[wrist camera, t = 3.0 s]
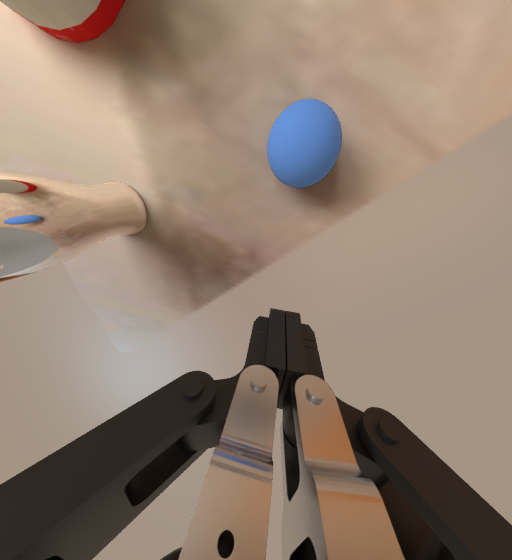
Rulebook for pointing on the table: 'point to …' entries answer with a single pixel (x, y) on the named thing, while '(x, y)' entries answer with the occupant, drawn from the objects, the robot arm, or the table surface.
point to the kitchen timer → (69, 16)
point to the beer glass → (60, 220)
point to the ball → (304, 143)
